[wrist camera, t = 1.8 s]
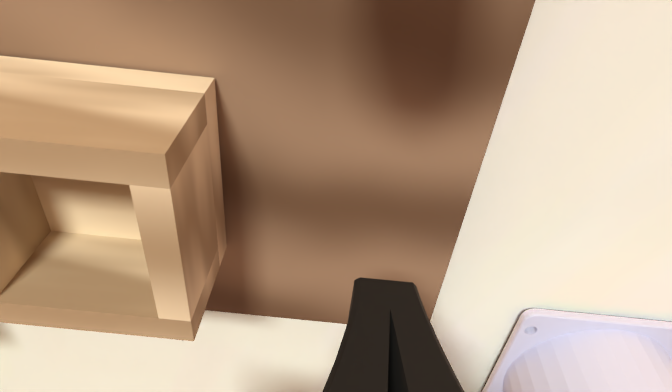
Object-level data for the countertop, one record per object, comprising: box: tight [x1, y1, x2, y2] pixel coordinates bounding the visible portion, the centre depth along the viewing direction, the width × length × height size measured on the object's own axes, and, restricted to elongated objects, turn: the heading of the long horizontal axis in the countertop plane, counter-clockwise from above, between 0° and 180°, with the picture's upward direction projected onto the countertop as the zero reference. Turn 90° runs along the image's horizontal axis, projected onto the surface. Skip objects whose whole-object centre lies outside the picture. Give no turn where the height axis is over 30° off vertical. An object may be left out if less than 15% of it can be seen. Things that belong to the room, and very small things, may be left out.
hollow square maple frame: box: [0, 56, 227, 341], centre depth 13 cm, size 6×6×4 cm
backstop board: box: [0, 0, 535, 324], centre depth 14 cm, size 14×24×5 cm, turn 85°
